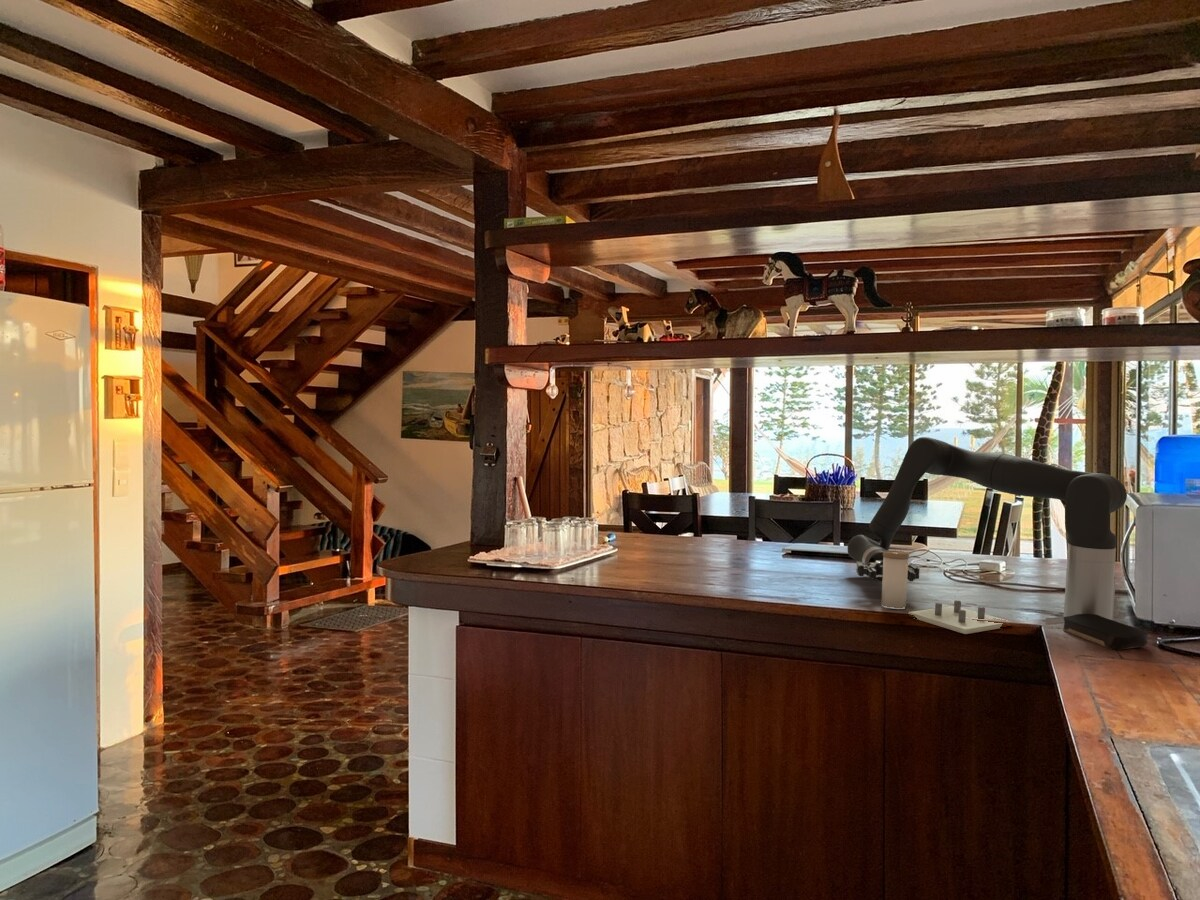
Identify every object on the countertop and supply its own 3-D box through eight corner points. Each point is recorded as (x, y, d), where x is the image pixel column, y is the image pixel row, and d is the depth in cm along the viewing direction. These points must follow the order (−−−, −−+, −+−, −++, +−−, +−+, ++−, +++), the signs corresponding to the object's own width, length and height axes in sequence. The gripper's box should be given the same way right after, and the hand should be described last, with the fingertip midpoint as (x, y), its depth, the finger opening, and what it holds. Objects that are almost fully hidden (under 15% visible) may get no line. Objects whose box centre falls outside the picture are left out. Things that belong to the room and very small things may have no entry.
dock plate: (953, 609, 193) (954, 595, 193) (1011, 626, 180) (1012, 610, 180) (908, 616, 186) (908, 601, 186) (965, 634, 173) (965, 617, 173)
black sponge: (1153, 652, 164) (1154, 633, 164) (1115, 653, 163) (1117, 635, 162) (1090, 629, 180) (1091, 612, 180) (1056, 630, 179) (1057, 613, 179)
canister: (892, 603, 198) (895, 549, 197) (912, 608, 193) (914, 553, 192) (875, 605, 196) (877, 551, 195) (894, 611, 190) (896, 555, 190)
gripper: (851, 547, 212) (863, 559, 196) (908, 549, 211) (925, 562, 195) (850, 576, 213) (861, 590, 197) (907, 578, 211) (924, 593, 195)
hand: (893, 576), depth 196 cm, fingers open, 8 cm apart
